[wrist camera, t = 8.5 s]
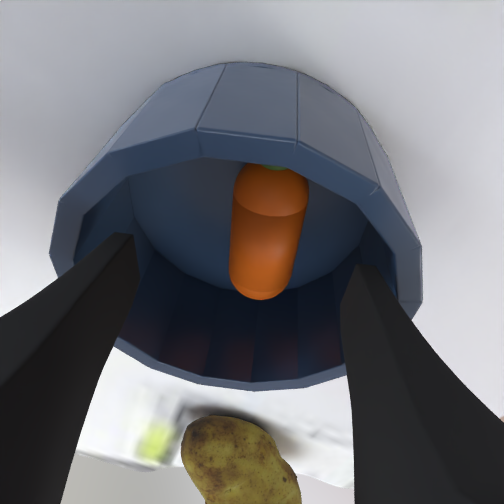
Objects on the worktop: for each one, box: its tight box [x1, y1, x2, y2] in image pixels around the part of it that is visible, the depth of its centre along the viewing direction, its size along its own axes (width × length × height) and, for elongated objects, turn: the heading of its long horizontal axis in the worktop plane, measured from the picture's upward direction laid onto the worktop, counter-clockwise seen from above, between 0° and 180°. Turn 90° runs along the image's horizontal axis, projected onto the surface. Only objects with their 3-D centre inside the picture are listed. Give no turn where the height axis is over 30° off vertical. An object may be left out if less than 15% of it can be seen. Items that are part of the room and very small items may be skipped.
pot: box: [49, 62, 423, 392], centre depth 15 cm, size 13×13×6 cm
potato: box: [181, 415, 302, 504], centre depth 32 cm, size 8×13×8 cm, turn 22°
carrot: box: [229, 163, 309, 300], centre depth 16 cm, size 8×3×3 cm
